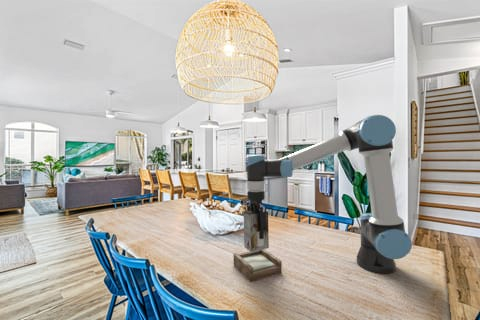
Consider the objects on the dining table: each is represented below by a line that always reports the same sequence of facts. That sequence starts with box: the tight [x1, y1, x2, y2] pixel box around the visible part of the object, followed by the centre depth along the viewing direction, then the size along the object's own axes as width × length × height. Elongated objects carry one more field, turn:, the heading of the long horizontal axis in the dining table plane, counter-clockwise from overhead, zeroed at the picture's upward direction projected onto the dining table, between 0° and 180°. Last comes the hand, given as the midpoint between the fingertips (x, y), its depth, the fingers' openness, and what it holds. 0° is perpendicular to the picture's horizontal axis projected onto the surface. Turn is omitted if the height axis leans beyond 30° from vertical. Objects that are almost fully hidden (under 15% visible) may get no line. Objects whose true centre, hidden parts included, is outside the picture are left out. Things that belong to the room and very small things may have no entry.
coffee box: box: [243, 210, 270, 252], centre depth 101 cm, size 9×6×16 cm
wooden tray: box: [233, 249, 283, 283], centre depth 102 cm, size 16×15×5 cm
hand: (256, 243), depth 102 cm, fingers closed on coffee box, 6 cm apart
